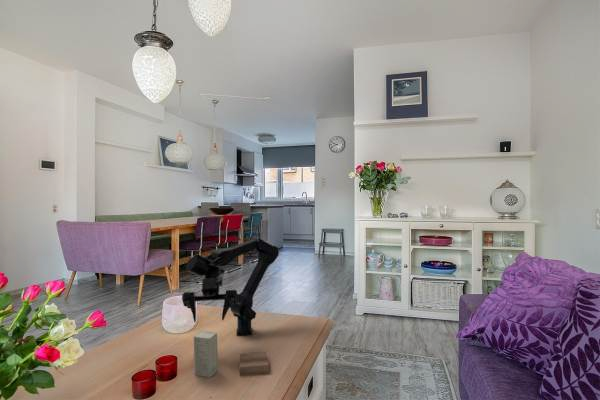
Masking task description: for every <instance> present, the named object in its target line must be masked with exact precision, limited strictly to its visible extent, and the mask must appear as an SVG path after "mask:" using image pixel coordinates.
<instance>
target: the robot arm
mask: <svg viewBox="0 0 600 400" xmlns="http://www.w3.org/2000/svg"><path fill="white" fill-rule="evenodd" d="M252 251H257V253H258V254H257V262H256V264H255V267H254V269H252V272H251V274H250V275H249V277H248V280H247V282H246V284H245V286H244V287H243V289H242V291H241V292H240V293H238V291H237V290H236V289H225V293H221V294H220V287H223V276H222V275H223V274H224V273H225V270H224V269H223V268H222V267H225V266H228V265H229V264H230V263H232V262H233V261H235V259H236V258H237V257H240V256H242V255H245V254H247V253H250V252H252ZM279 255H280V252H279V248H278V247H277V246H276V245H272V244H270V243H269V242H266V241H265V240H263V239H262V238H258V237H257V238H256V237H253V238H252V239H249V240H246V241H244V242H241V243H239V244H236V245H234V246H230V247H224V248H218V249H214V250H212V251H211V253H210V254H209V255H207V256H205V257H203V256H202V255H201V254H198V253H195V254H194V256H192V257H190V258H189V260H188V261H187V262H186V264H185V270H186V272H189V273H190V274H193V275H195V276H197V277H203V276H204V277H203V279H201V282H202V283H201V294H199V295H196V291H186V292H183V293H182V296H181V300H182V304H183V306H184V307H186V308H187V309H190V311H191V313H192V318H193V322H194V323H196V322H197V321H196V320H197V305H196V304H197V303H196V302H203V301H222V300H223V301H224V302H223V308H222V312H221V314H222V315H221V321H224V320H225V317H226V315H227V313H228V312H229V311H228V310H229V309H230V311H231V313H232V314H233V317H235V318H236V319H237V326H236V327H237V328H236V331H235V333H236V336H248V335H249V336H250V335H253V332H254V331H253V327H252V321H253V319H256V317H257V312H256V311H255V310H254V309H253V308H252V307H253V305H254V296H255V293H256V291H257V289H258V288H259V286H260V284H261V282H262V280H263V278H264V275H265V274H266V271H267V270H268V267H269V266H271V265H272V264H273V263H275V261H276V260H277V259H278V257H279ZM219 266H220V267H219Z"/></svg>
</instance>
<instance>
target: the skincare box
mask: <svg viewBox="0 0 600 400" xmlns="http://www.w3.org/2000/svg"><path fill="white" fill-rule="evenodd" d="M218 353H219V351H218V332H213V331H203V330H201V331H200V332H198V333H196V334H194V335H193V363H194V365H193V367H194V369H193V370H194V375H197V376H200V377H201V376H202V377H206V378H212V377H213V376H214V375H216V373H217V372H218V371H219V359H218V358H219V354H218Z"/></svg>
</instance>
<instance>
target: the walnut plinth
mask: <svg viewBox="0 0 600 400" xmlns="http://www.w3.org/2000/svg"><path fill="white" fill-rule="evenodd" d="M269 367H270V365H269V358H268V353H267V351H260V352H250V353H239V376H247V375H248V376H250V375H259V374H260V375H261V374H268V373H269Z"/></svg>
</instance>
